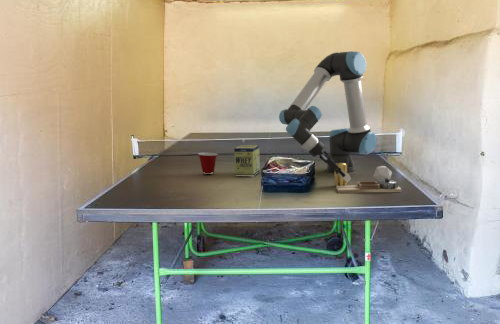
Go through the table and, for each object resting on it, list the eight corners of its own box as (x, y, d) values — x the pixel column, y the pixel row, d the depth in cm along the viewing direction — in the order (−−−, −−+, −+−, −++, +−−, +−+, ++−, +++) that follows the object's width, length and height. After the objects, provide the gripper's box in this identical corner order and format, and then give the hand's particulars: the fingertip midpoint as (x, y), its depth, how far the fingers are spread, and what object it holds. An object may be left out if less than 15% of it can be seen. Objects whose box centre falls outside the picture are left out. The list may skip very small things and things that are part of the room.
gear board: (336, 188, 252) (336, 181, 251) (397, 187, 250) (397, 180, 249) (338, 192, 242) (338, 186, 242) (401, 191, 240) (401, 184, 240)
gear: (375, 185, 250) (375, 176, 250) (395, 184, 250) (395, 176, 249) (378, 189, 241) (378, 180, 240) (399, 189, 240) (399, 180, 240)
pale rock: (383, 181, 269) (371, 166, 267) (397, 174, 263) (385, 159, 262) (379, 189, 262) (367, 174, 261) (394, 182, 257) (382, 167, 255)
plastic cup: (221, 174, 297) (220, 153, 295) (202, 176, 293) (201, 154, 291) (215, 171, 307) (214, 151, 305) (196, 173, 303) (195, 152, 301)
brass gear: (334, 185, 259) (334, 162, 258) (346, 184, 259) (346, 162, 257) (335, 187, 254) (335, 164, 252) (347, 187, 253) (347, 164, 251)
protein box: (234, 177, 289) (233, 148, 286) (242, 171, 304) (241, 144, 301) (253, 177, 286) (252, 148, 284) (260, 172, 301) (259, 144, 299)
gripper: (307, 148, 264) (341, 181, 265) (308, 154, 245) (345, 188, 247) (317, 137, 263) (351, 170, 264) (320, 142, 244) (356, 177, 246)
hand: (348, 179), depth 255 cm, fingers closed on brass gear, 6 cm apart
